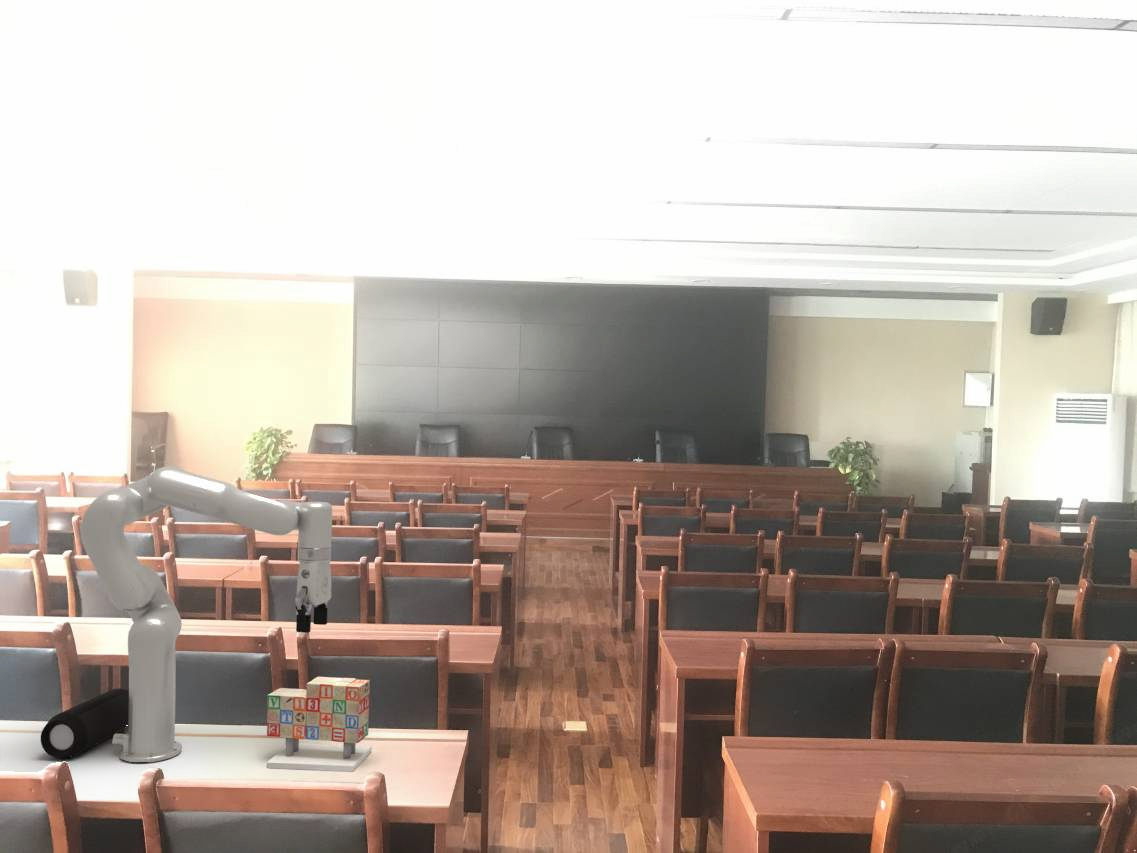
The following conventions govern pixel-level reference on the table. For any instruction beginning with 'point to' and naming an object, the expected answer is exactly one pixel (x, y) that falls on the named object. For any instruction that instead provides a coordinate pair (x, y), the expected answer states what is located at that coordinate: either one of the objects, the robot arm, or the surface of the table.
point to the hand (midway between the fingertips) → (311, 628)
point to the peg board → (319, 756)
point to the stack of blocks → (321, 710)
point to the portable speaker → (86, 724)
